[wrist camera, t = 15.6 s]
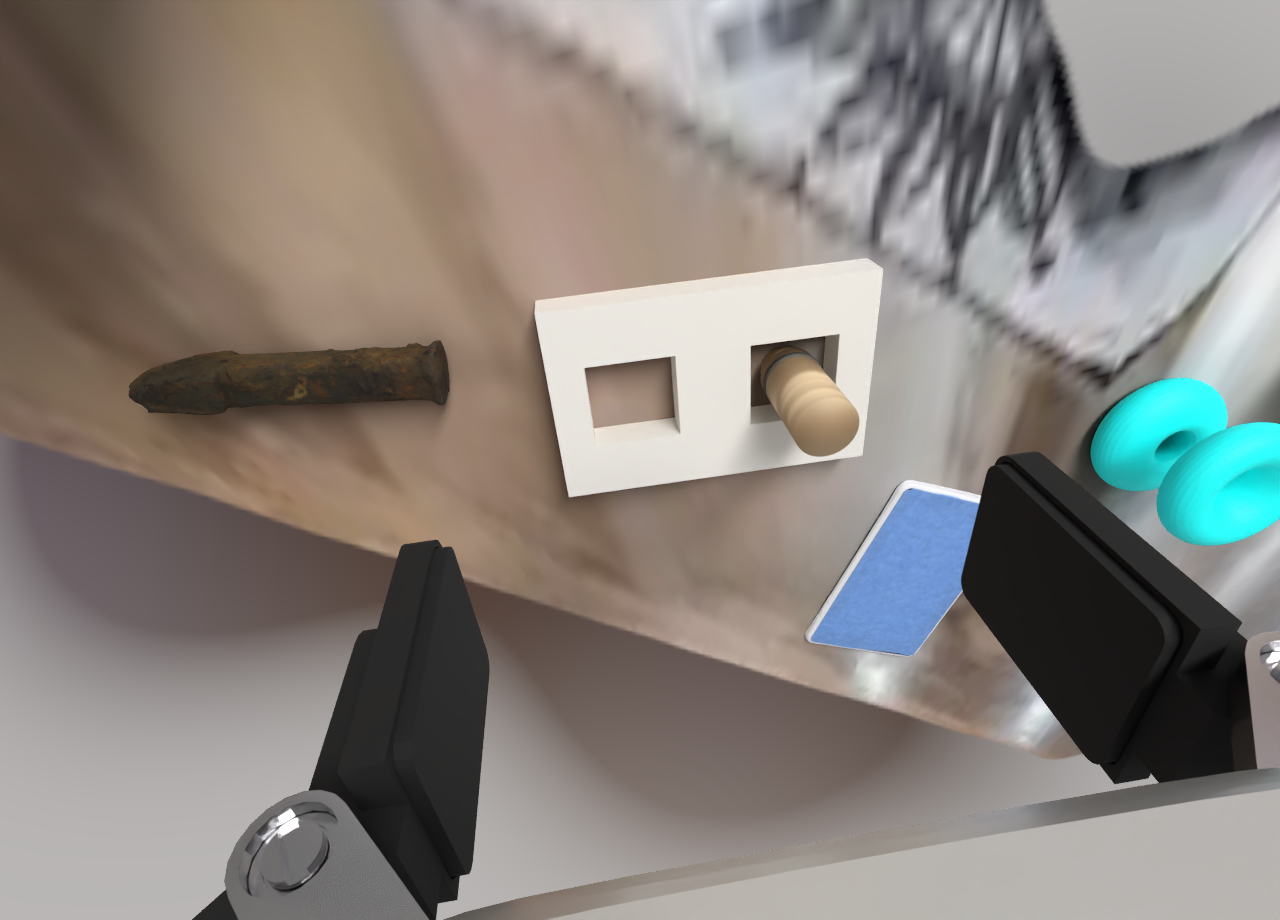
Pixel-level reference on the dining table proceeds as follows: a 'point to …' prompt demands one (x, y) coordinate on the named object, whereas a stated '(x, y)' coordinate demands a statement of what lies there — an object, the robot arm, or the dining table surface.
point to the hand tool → (294, 379)
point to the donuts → (1192, 461)
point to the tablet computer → (901, 573)
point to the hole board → (703, 369)
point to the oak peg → (808, 401)
